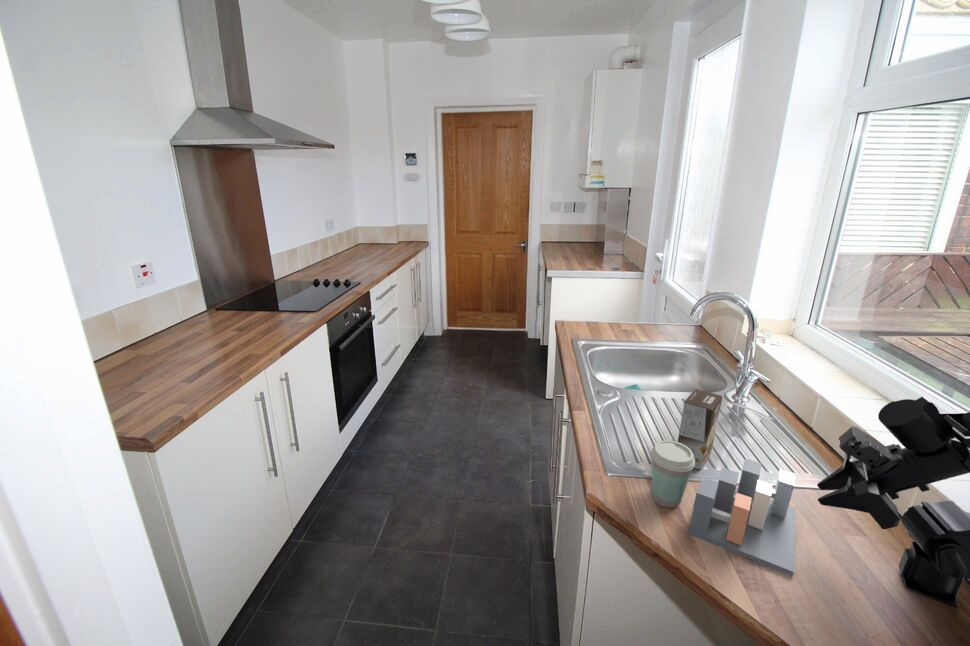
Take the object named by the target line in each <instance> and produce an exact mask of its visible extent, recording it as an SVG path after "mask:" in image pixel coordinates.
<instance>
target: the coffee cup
mask: <svg viewBox="0 0 970 646" xmlns="http://www.w3.org/2000/svg"><path fill="white" fill-rule="evenodd" d="M650 457H651V497H652V499H653V500H654V502H656V503H657V504H658V505H660V506H661V507H665V508H676V507H679V506H680V505H681V502H682V499H683V497H684V494H685V491H686V488H687V485H688V481H689V479H690V476H691V473H692V470H693V469H694V466H695V459H694V456H693V452H692V451H691V450H690V449H689V448H688V447H687V446H685V445H683V444H681V443H678V441H676V440H675V441H674V440H661V441H660V440H659V441H658V442H656V444H655V445H654V446H653V448H652V449H651V452H650Z"/></svg>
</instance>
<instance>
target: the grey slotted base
mask: <svg viewBox="0 0 970 646" xmlns="http://www.w3.org/2000/svg"><path fill="white" fill-rule="evenodd" d="M742 466H743V467H742V471H741V475H740V479H739V474H740V472H738V471H735V470H733V469H732V470H731V469H729V468H725V467H721V472H720V475H719V480H718V481H715V480H713V479H711V478H707V477H705V479H704V480H703V479H700V481H699V484H698V485H697V486H698V487H697V489H696V492H695V499H694V504H693V508H692V514H691V519H690V520H691V521H690V525H689V530H688V535H689V534H690V536H692V537H694V538H697V539H699V540H702V541H704V542H707V543H709V544H712V545H714V546H717V547H719V548H722V549H723V550H726V551H729V552H731V553H734V554H737V555H739V556H741V557H744V558H746V559H749V560H752V562H756V563H759V564H760V565H764V566H766V567H767V568H768V567H769V568H770V569H773V570H776V571H778V572H780V573H783V574H786V575H788V576H790V577H794V574H795V557H796V555H795V552H796V551H795V549H796V518H797V517H796V512H797V508H795V507H793V506H791V505H789V507H788V510H787V514H786V517H785V518H782V517H779V516H777V515H774V514H771V503H772V499H770V503H769V507H768V511H767V515H766V519H765V523H764V527H763V530H761V529H758V528H755V527H753V526H750V525H748V520H749V515H748V519H747V524H746V528H745V532H744V536H743V540H742V544H741V545H738V544H736V543H733V542H731V541H728V540H726V538H727V533H728V528H729V524H730V523H727V522H724V521H722V520H719V519H716V518H714V517H711V512H712V508H715V509H718V510H721V511H723V512H726V513H729V514H732V510H733V506H734V503H733V498H734V494H735V495H736V493H739V494H742V495H745V496H748V497H751V498H752V499H751V500H752V501H753V497H754V493H755V488H756V484H757V480H760V477H761V468H762V462H758V461H755V460H753V459H748V458H744V460H743V465H742ZM738 480H739V484H738ZM737 484H738V488H737ZM749 514H750V511H749Z"/></svg>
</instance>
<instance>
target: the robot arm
mask: <svg viewBox="0 0 970 646" xmlns="http://www.w3.org/2000/svg"><path fill="white" fill-rule="evenodd" d="M878 412H879V413H878V414H877V415H878V417H877V419H878V420H879V421H880V423H881V424H882V425H883V426H884V427H885V428H886V429H887V431H889V432H890V433H891V434H892V436H893V437H894V438H895V439H896V440H897V441H898V442H899V443H900V444H901V445H902V446H903V448H902V447H901V445H900V444H895V443H892V444H890V445H886V446H885V444H883V443H882V442H880V441H879V440H877V438H874V437H873V436H872V435H869V434H868V433H867V432H865V431H864V430H862V429H860V428H859V427H857V426H854V425H853V426H851V427H849V428H848V429H847V430H846V431H845V432H844V433H843V434H840V436H839V437H838V440H839V445H838V446H839V448H840V449H841V451H842V452H843V453H845V454H844V459H843V464H842V465H841V466H839V468H837V469H836V470H834V471H833V472H832V473H830V474H829V475H827V476H826V477H825V478H824V479H822V480H821V481H819V482H818V483H817V484H816V486H817V487H818V489H819V490H821V491H832V492H829V493H827V494H824V495H823V496H821V497H818V498H817V502H818V503H819V504H820V505H821V506H825V507H826V506H827V507H833V508H838V509H839V508H840V509H845V510H846V509H848V510H852V511H857V512H862V513H867V514H870V516H871V517H872V519H873V520H874V521H875V522H876V523H877V524H878V526H879V527H880V528H881V529H882V530H887V529H888V530H889V529H893V528H897V527H898V526H899V525H900V522H901V524H902V526H903V527H904V529H905V530H906V531H907V535H908V536H909V537H910V538H911V539H912V540H913V541H912V543H911V545H910V547H909V548H907V547H906V548H905V549H904V552H903V553H902V555H901V559H900V560H899V564H898V569H899V573H900V576H901V577H902V578H903V582H904V583H903V584H904V586H905V588H906V589H908V590H910V591H913V592H916V593H918V594H921V595H924V596H926V597H928V598H931V599H934V600H937V601H940V602H942V603H945V604H947V605H950V606H952V607H956V608H958V607H959V606H960V601H959V600H958V599H959V598H958V597H957V596H958V594H959V592H960V590H961V587H962V585H963V583H964V581H965V580H966V579H967V580H970V512H967V511H964V510H962V509H961V508H960V507H959V506H958V505H957V504H956V503H955V502H954V501H951V500H942V501H936V502H926V501H920V504H918V505H912V506H911V507H908V508H907V510H906V511H905V512H904V513H903V514H902V516H901V517H900V513H899V511H898V507H897V505H896V504H895V502H894V501H893V500H897V499H900V495H899V494H900V493H901V492H904V491H907V490H908V491H909V490H911V489H915V488H918V489H919V490H920V491H921V493H923V492H927V491H930V490H931V489H930V487H929V485H930V484H933V483H936V482H937V483H938V482H941V481H943V480H944V481H945V480H948V479H953V478H955V477H959V476H963V475H967V474H969V473H970V411H939V409H938V407H937V406H936V405H935V404H934V402H932V401H931V400H930V399H928V398H926V397H925V396H921V397H919V398H916V399H910V398H908V399H907V398H906V399H899V400H896V401H894V400H893V401H891V402H888V403H886V404H885V405H884V406H883V407H882V408H880V411H878ZM833 490H834V491H833Z"/></svg>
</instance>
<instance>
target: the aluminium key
mask: <svg viewBox="0 0 970 646" xmlns="http://www.w3.org/2000/svg"><path fill="white" fill-rule="evenodd" d="M795 477H796V475H795V473H792V472H788V471H786V470H781V469H779V472H778V476H777V480H776V483H775V487H774V489H773V488H772V494H771V500H772V503H771V514H774V515H777V516H779V517H782V518H785V517H786V514H787V510H788V507H789V506H790V504H791V503H790V502H791V499H792V495H793V491H794V488H795Z"/></svg>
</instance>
